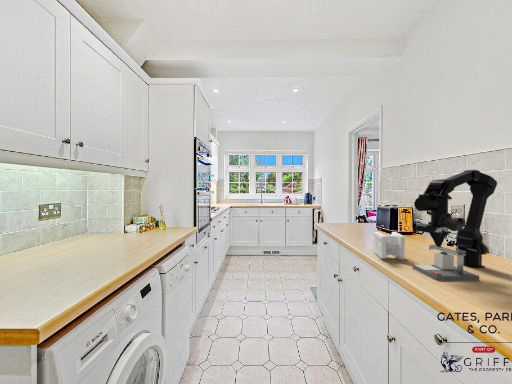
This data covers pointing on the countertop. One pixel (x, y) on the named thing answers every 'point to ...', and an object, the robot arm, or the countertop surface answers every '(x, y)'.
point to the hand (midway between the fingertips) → (438, 247)
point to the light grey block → (444, 260)
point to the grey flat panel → (444, 273)
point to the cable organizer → (389, 245)
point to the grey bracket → (458, 253)
